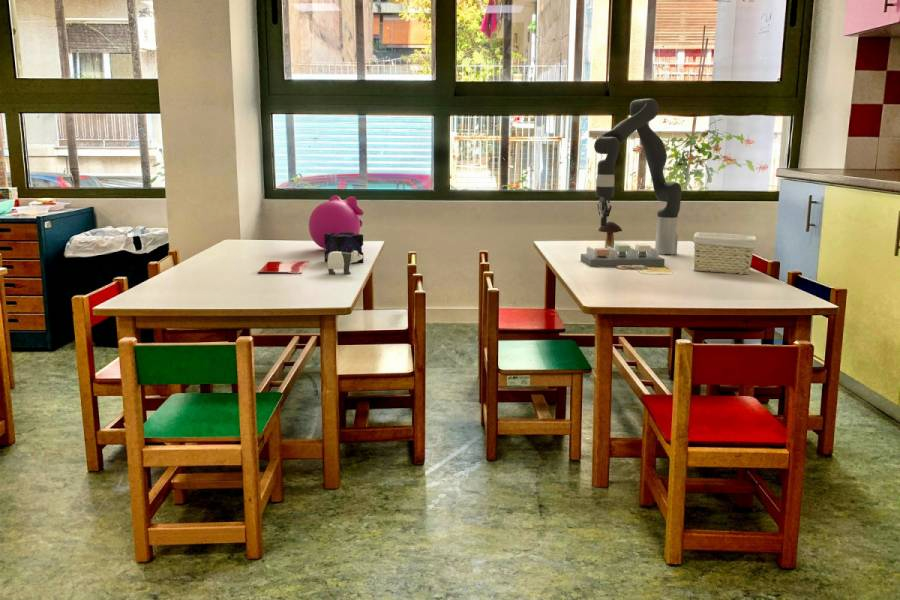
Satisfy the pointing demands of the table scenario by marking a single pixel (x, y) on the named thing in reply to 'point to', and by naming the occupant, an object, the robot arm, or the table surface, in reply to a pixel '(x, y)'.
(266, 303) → the table surface
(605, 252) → the orange cube
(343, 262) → the giant panda
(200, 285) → the table surface
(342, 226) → the figurine
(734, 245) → the storage basket
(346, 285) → the table surface
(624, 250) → the key sage
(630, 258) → the grey shelf board
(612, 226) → the decorative mushroom
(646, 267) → the strip
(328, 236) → the energy cube
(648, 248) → the key ivory
